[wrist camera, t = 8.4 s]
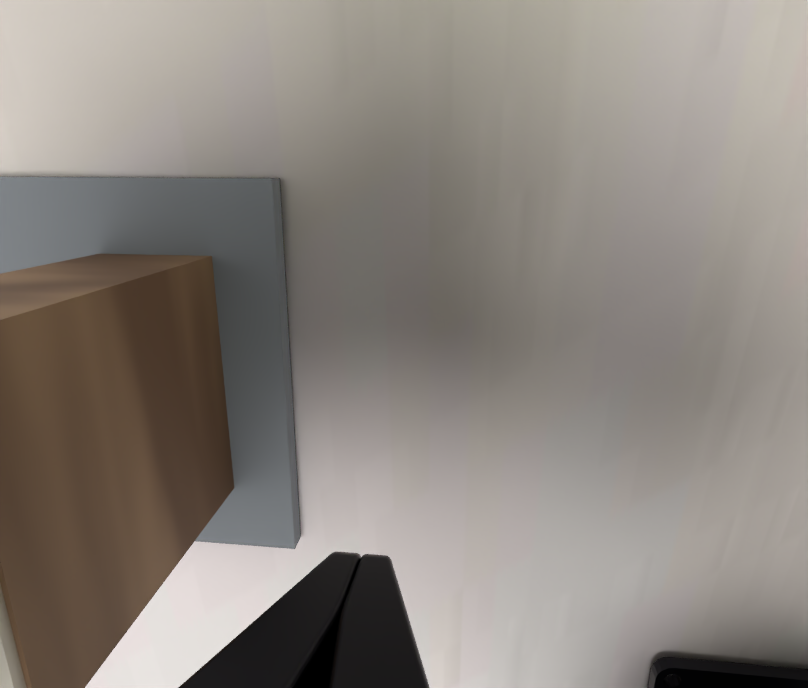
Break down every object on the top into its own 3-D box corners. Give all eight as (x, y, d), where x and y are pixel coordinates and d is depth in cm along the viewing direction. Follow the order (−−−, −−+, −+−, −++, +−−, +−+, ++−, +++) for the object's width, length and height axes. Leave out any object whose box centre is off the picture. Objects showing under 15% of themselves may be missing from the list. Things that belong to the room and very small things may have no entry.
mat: (279, 178, 14) (272, 178, 14) (300, 536, 17) (294, 548, 17) (-192, 175, 16) (-217, 175, 15) (-93, 507, 19) (-110, 517, 18)
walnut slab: (211, 255, 14) (-70, 341, 7) (234, 487, 17) (35, 751, 9) (99, 253, 15) (-289, 332, 7) (134, 481, 17) (-139, 730, 9)
